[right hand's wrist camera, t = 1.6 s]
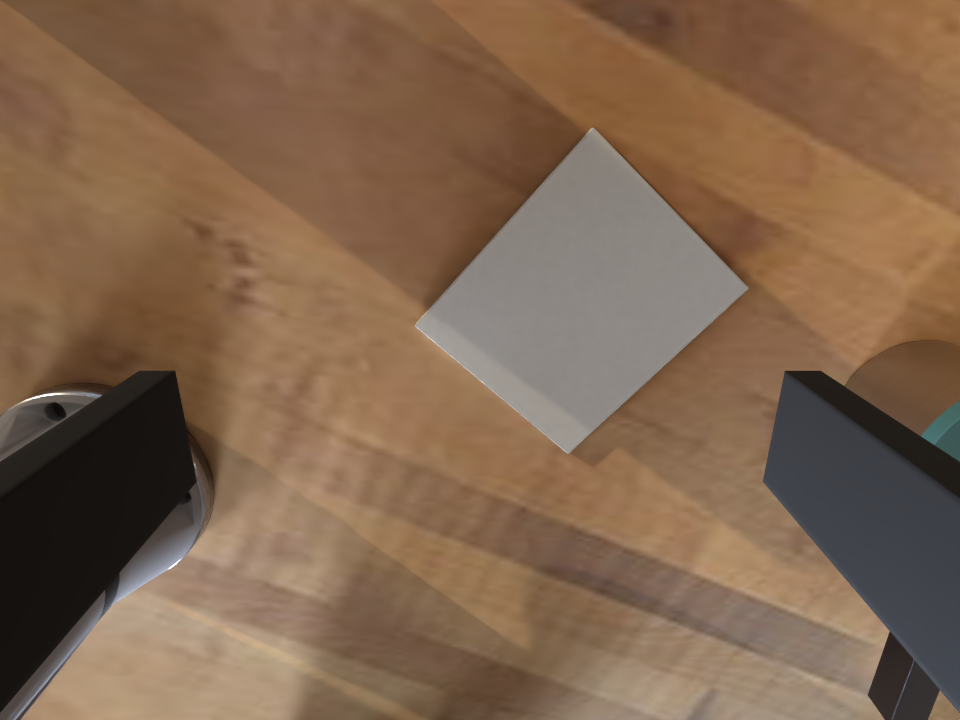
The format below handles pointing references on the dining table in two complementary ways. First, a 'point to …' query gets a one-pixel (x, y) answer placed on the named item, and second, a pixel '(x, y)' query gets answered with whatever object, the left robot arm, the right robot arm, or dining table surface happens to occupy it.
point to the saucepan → (917, 404)
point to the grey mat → (581, 295)
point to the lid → (946, 431)
